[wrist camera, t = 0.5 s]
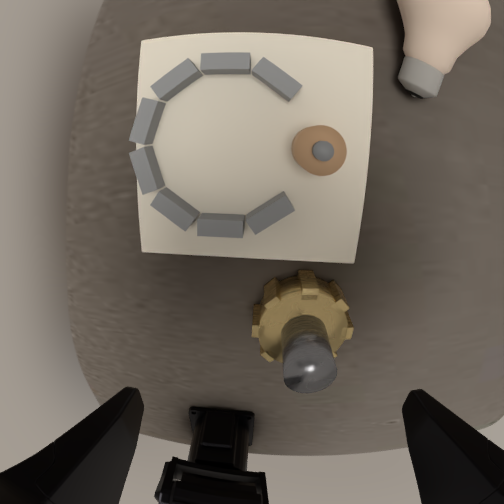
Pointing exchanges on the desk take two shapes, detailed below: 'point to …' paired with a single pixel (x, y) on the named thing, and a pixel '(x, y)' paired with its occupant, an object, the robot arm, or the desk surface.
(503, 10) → the desk surface
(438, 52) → the light bulb
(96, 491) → the robot arm
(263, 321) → the planet gear
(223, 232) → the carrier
